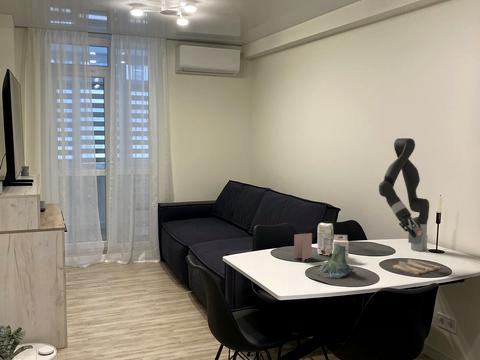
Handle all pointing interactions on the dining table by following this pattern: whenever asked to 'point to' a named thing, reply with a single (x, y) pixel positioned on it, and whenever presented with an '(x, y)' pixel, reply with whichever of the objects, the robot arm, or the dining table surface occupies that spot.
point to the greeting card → (303, 246)
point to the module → (418, 238)
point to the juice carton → (325, 239)
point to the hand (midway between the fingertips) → (418, 236)
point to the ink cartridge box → (341, 243)
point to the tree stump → (336, 263)
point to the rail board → (415, 267)
